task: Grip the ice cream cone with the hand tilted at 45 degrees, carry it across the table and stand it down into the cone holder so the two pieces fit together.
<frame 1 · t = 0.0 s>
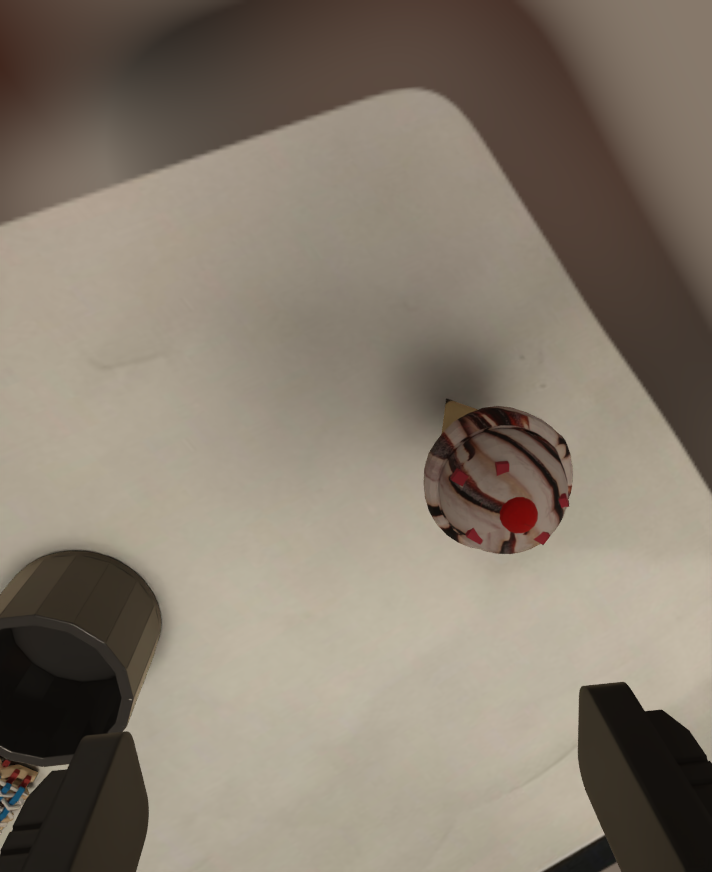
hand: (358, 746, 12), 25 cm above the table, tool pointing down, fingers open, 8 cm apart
cone holder: (83, 618, 40), on the table
ice cream cone: (446, 399, 36), on the table
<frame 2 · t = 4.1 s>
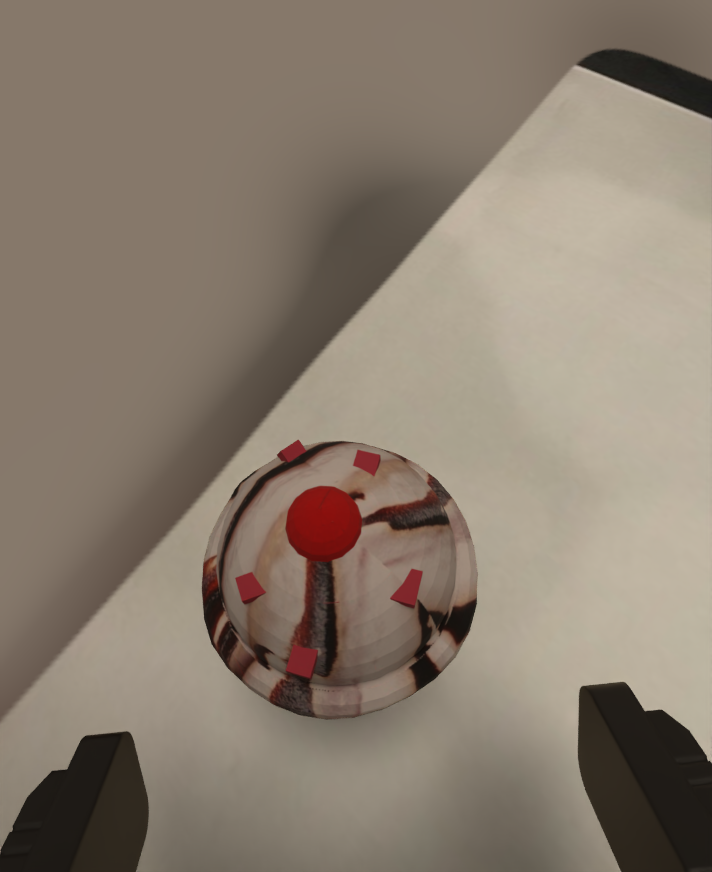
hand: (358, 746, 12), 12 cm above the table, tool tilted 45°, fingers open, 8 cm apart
ice cream cone: (359, 655, 24), on the table
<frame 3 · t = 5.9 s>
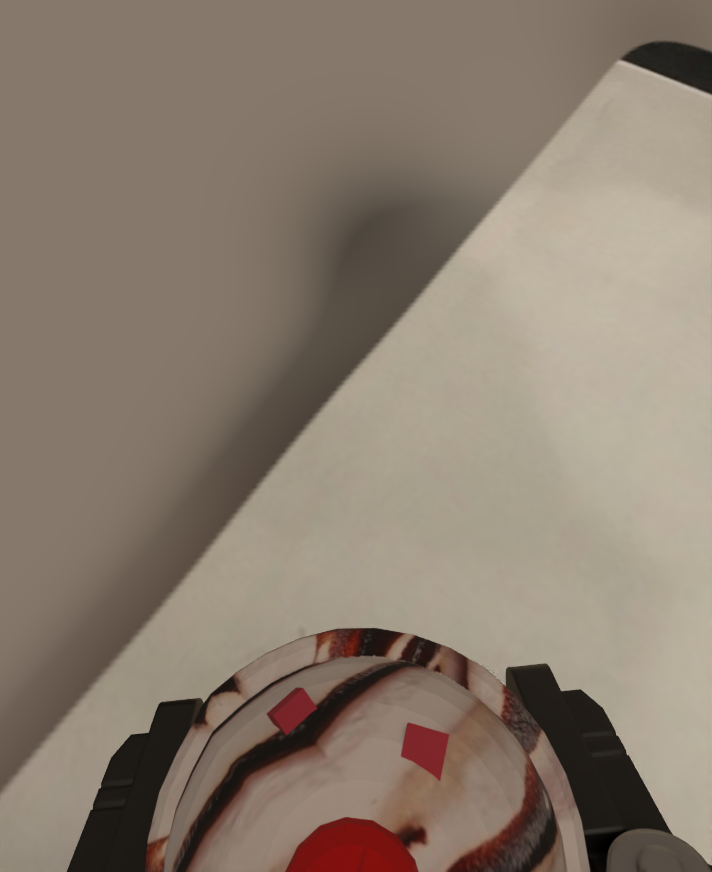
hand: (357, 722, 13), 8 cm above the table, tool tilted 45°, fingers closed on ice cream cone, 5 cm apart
ice cream cone: (371, 806, 19), on the table, touching gripper
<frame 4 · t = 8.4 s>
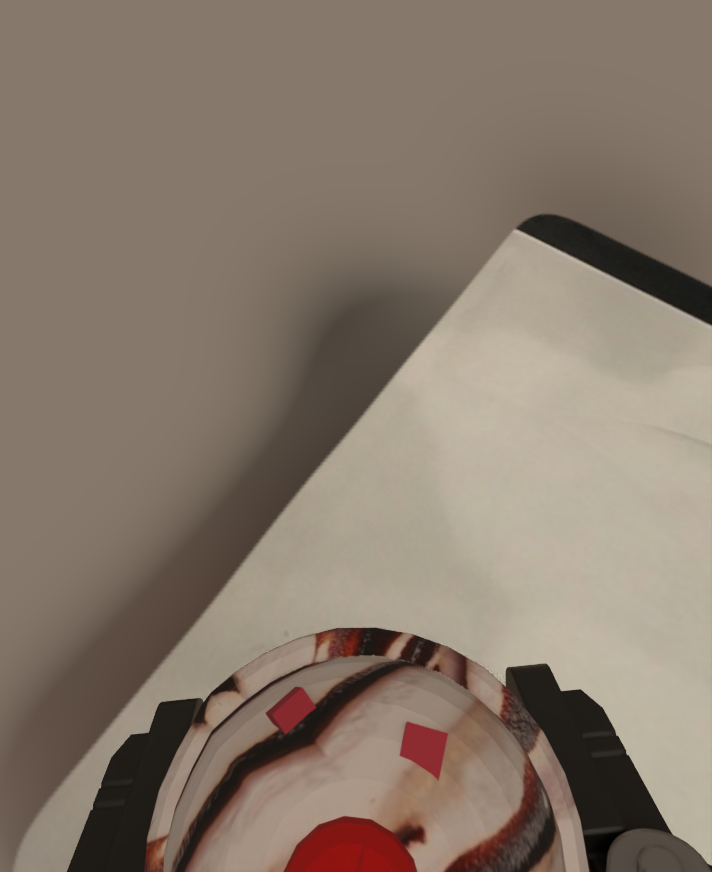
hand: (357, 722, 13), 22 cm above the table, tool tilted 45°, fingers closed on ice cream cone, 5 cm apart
ice cream cone: (371, 805, 19), point 14 cm above the table, touching gripper
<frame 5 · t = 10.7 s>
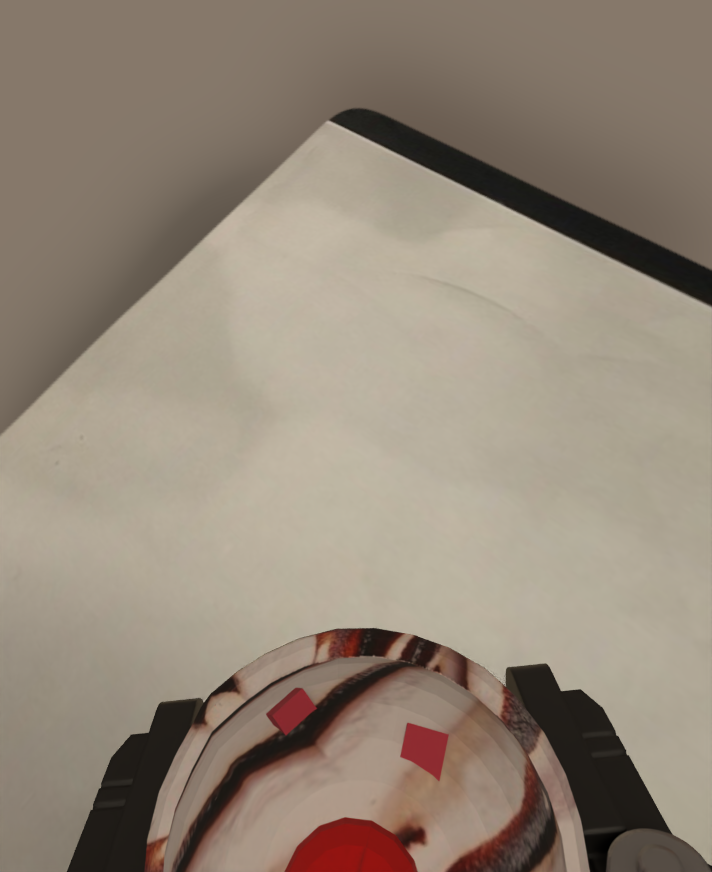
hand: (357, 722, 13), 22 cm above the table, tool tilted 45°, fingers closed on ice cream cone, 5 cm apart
ice cream cone: (371, 806, 19), point 14 cm above the table, touching gripper
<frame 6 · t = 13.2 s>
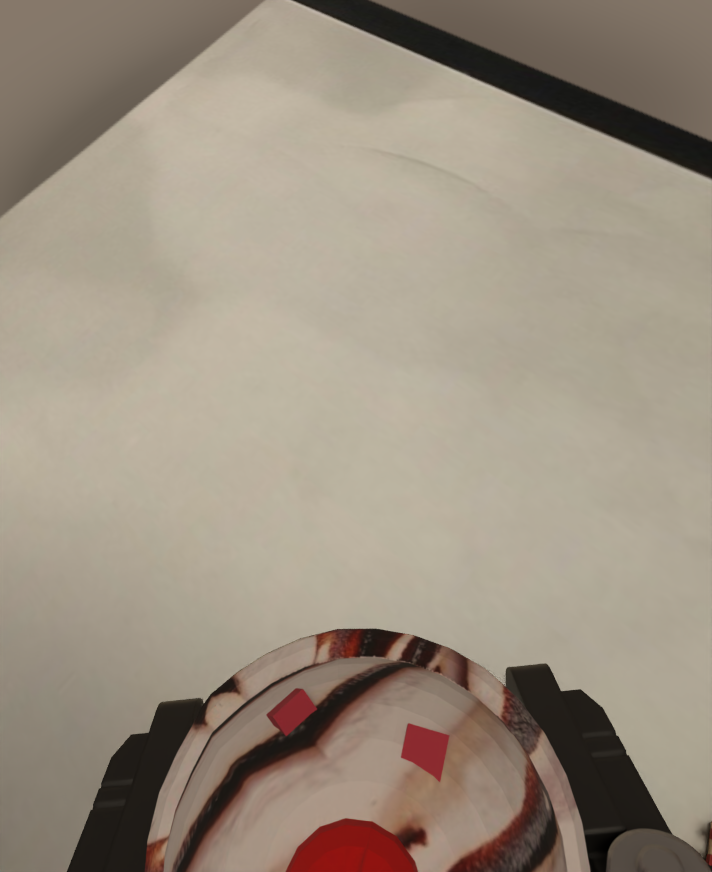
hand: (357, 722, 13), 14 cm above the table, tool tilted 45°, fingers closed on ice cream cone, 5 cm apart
ice cream cone: (372, 806, 19), point 6 cm above the table, touching gripper
when the fingers open (8 cm above the table, at t = 15.4 s): ice cream cone stays where it is, resting on cone holder.
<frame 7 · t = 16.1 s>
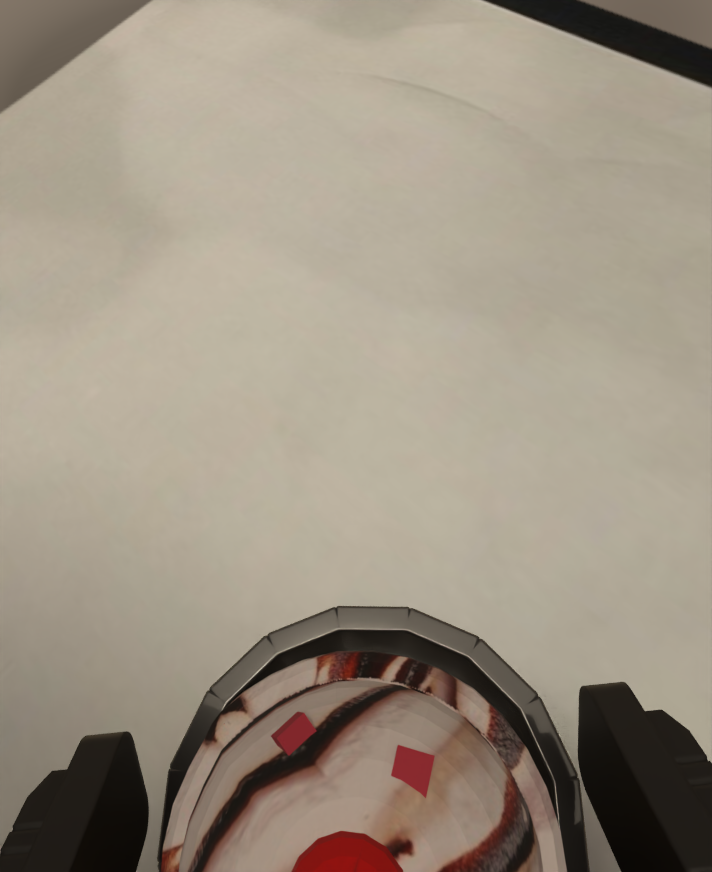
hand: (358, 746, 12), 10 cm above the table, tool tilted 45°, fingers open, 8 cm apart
cone holder: (374, 803, 20), on the table
ice cream cone: (373, 811, 20), resting on cone holder
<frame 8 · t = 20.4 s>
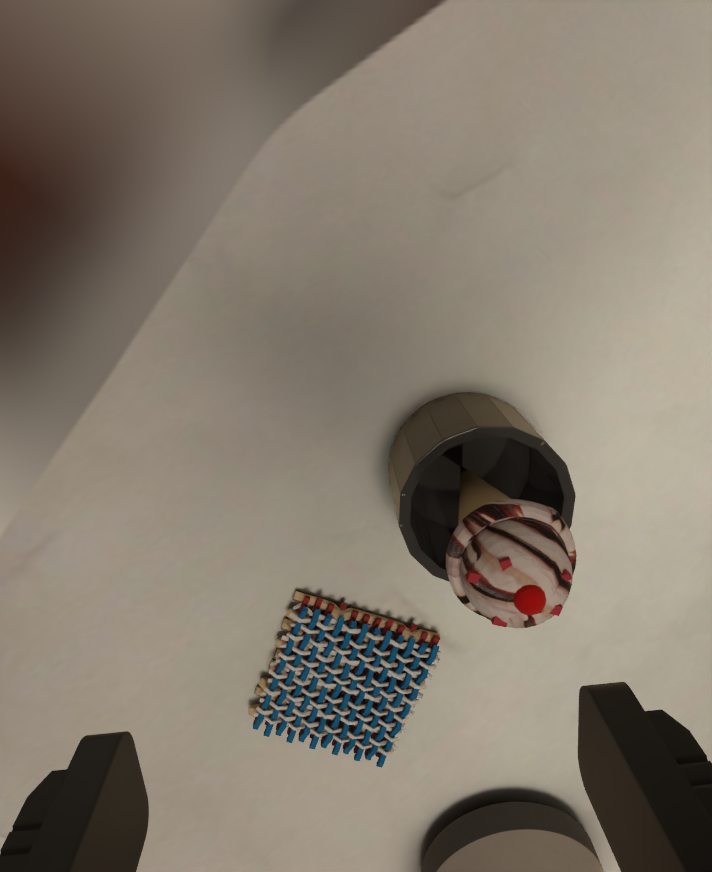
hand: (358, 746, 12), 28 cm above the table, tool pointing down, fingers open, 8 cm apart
woven mat: (344, 667, 45), on the table
cone holder: (462, 464, 41), on the table
planter: (502, 849, 51), on the table
ice cream cone: (461, 466, 40), resting on cone holder
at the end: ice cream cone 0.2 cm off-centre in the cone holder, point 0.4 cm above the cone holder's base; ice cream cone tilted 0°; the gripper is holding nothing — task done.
